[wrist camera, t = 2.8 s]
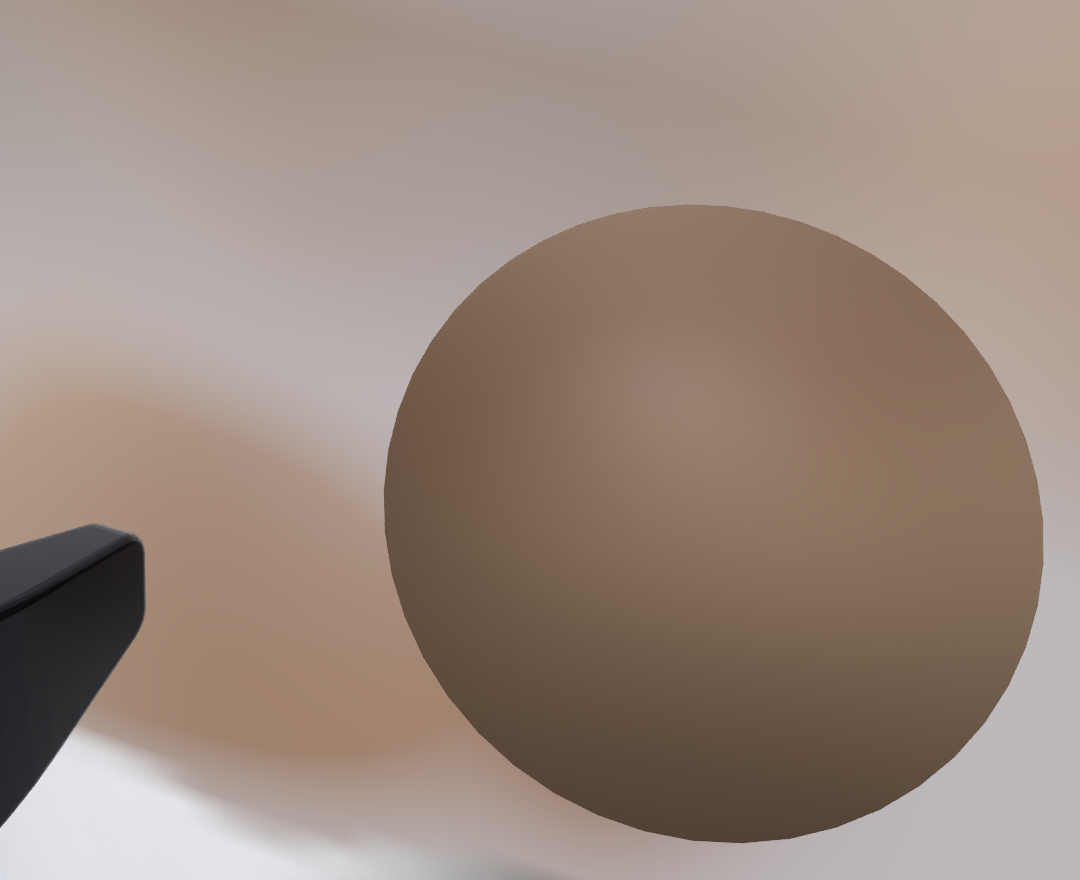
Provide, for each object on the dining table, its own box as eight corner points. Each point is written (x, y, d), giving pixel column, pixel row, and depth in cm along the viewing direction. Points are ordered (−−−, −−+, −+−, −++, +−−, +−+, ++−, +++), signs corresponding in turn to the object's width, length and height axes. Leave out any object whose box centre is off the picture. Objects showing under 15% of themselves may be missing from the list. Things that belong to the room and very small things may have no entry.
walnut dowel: (756, 731, 16) (1168, 719, 5) (519, 804, 15) (476, 943, 5) (676, 503, 17) (882, 147, 7) (458, 565, 17) (324, 285, 6)
